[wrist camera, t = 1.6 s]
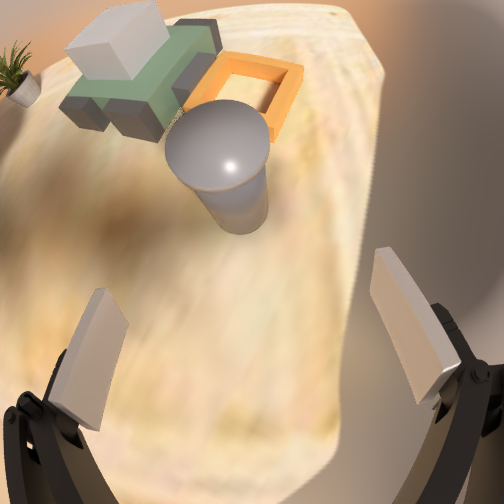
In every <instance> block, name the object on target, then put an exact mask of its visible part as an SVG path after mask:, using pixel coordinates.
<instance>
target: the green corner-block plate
mask: <svg viewBox="0 0 504 504" xmlns="http://www.w3.org/2000/svg"><path fill="white" fill-rule="evenodd" d="M222 48H223V47H222V43H221V38H220V34H219V30H218V25H217V21H216V19H179V20H178V21H177V22H176V23H175V24H174V25H173V26H166V25H165V22H164V20H163V17H162V15H161V12H160V10H159V8H158V5H157V3H156V0H150V1H143V2H137V3H131V4H125V5H121V6H116V7H111V8H107V9H105V10H104V11H103V12H102V13H101V14H100V15H99V16H97V17H96V18H95V19H94V20H93V21H92V22H91V23H90V24H89V25H88V26H87V27H86V28H85V29H84V30H83V31H82V32H80V34H79V35H77V37H76V38H75V39H74V40H73V41H72V42H71V43H70V44H69V45H68V46H67V47H66V48H65V49H64V50H65V52H66V53H67V54H68V56H69V57H70V58H71V60H72V61H73V62H74V63H75V65H76V66H77V67H78V68H79V70H80V71H81V72H82V73H83V75H82V76H81V77H80V78H79V80H78V81H77V82H76V84H75V85H74V86H73V88H72V89H71V90H70V92H69V93H68V94H67V96H66V97H65V98H64V100H63V101H62V103H61V104H60V106H59V107H58V108H59V109H60V110H61V111H62V112H63V113H64V114H65V115H67V116H68V117H69V118H70V119H71V120H72V121H73V122H74V123H75V124H76V125H77V126H78V127H79V128H84V129H90V130H96V131H101V132H104V131H105V129H106V127H107V126H108V124H109V123H110V121H111V123H112V124H113V125H114V126H115V127H116V128H117V129H118V131H119V132H120V133H121V134H122V135H123V136H127V137H132V138H137V139H141V140H146V141H150V142H155V143H158V142H159V140H160V138H161V136H162V135H163V133H164V131H165V130H166V128H167V127H168V125H169V123H170V122H171V120H172V118H173V117H174V115H175V114H176V112H177V111H178V109H179V108H180V107H183V109H184V111H185V113H186V112H187V111H189V110H190V109H192V108H194V107H196V106H198V105H200V104H203V103H206V102H210V101H214V99H215V98H216V96H217V95H218V93H219V92H220V90H221V88H222V87H223V85H224V84H225V82H226V81H227V79H228V78H229V76H230V75H231V74H232V73H233V74H238V75H244V76H249V77H254V78H259V79H264V80H268V81H273V82H277V83H281V85H280V87H279V89H278V91H277V92H276V94H275V96H274V98H273V100H272V102H271V104H270V106H269V108H268V110H267V112H266V114H264V113H260V112H259V113H260V114H261V115H262V117H263V118H264V119H265V121H266V123H267V126H268V129H269V136H270V142H273V143H275V140H276V138H277V136H278V134H279V132H280V129H281V127H282V125H283V123H284V120H285V118H286V116H287V114H288V112H289V110H290V107H291V105H292V103H293V101H294V99H295V96H296V94H297V92H298V90H299V88H300V86H301V84H302V81H303V71H304V66H303V65H299V64H295V63H291V62H286V61H282V60H277V59H272V58H267V57H262V56H257V55H251V54H244V53H238V52H230V51H222V53H221V54H220V55H219V56H218V58H217V59H216V56H217V55H218V53H219V52H220V51H221V50H222Z"/></svg>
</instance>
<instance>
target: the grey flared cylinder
mask: <svg viewBox="0 0 504 504" xmlns="http://www.w3.org/2000/svg"><path fill="white" fill-rule="evenodd" d="M269 151H270V136H269V129H268V126H267V123H266V121H265V119H264V118H263V117H262V115H261V114H260V113H259V112H258V111H257V110H255V109H254V108H253V107H251V106H249V105H247V104H245V103H242V102H239V101H234V100H215V101H210V102H206V103H203V104H200V105H198V106H196V107H194V108H192V109H190V110H189V111H187V112H186V113H185V114H183V115H182V116H181V117H180V118H179V119H178V120H177V121H176V123H175V124H174V125H173V127H172V128H171V130H170V132H169V134H168V136H167V139H166V144H165V156H166V161H167V163H168V165H169V167H170V169H171V170H172V172H173V173H174V174H175V176H176V177H177V178H178V179H179V180H180V181H181V182H182V183H183V184H184V185H185V186H187V187H189V188H191V189H193V190H194V191H195V192H196V194H197V195H198V196H199V198H200V199H201V201H202V202H203V203H204V205H205V206H206V208H207V209H208V210H209V212H210V213H211V214H212V216H213V217H214V219H215V220H216V221H217V223H218V224H219V225H220V227H221V228H223V229H224V230H225V231H227V232H229V233H232V234H237V235H242V234H248V233H251V232H253V231H255V230H256V229H258V228H259V227H260V226H261V225H262V224H263V222H264V221H265V219H266V217H267V214H268V196H267V183H266V170H265V163H266V161H267V158H268V156H269Z"/></svg>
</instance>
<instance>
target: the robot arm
mask: <svg viewBox="0 0 504 504" xmlns="http://www.w3.org/2000/svg"><path fill="white" fill-rule="evenodd" d="M369 293H370V295H371V297H372V299H373V301H374V303H375V305H376V307H377V309H378V311H379V314H380V316H381V318H382V320H383V322H384V324H385V327H386V329H387V331H388V333H389V335H390V337H391V340H392V342H393V345H394V347H395V349H396V352H397V354H398V356H399V358H400V361H401V363H402V366H403V368H404V371H405V373H406V376H407V378H408V381H409V383H410V386H411V389H412V391H413V394H414V397H415V399H416V402H417V405H418V404H421V403H423V402H426V401H428V400H430V399H433V398H434V397H435V396H436V394H437V393H438V392H439V394H440V396H441V398H440V399H439V400H438V402H437V403H436V404H435V405H434V407H433V408H432V409H433V410H435V408H436V407H437V409H436V412H435V414H434V417H433V420H432V423H431V425H430V428H429V431H428V433H427V435H426V438H425V440H424V443H423V445H422V448H421V450H420V452H419V454H418V456H417V459H416V461H415V463H414V465H413V467H412V469H411V471H410V473H409V475H408V477H407V478H406V480H405V482H404V484H403V486H402V488H401V490H400V491H399V493H398V495H397V496H396V498H395V500H394V502H393V503H392V504H455V502H456V500H457V498H458V496H459V493H460V491H461V489H462V486H463V484H464V482H465V479H466V477H467V474H468V472H469V469H470V466H471V472H470V477H469V482H468V487H467V491H466V496H465V500H464V504H504V364H500V365H488V364H487V363H486V362H484V361H483V360H478V359H476V357H475V356H474V354H473V353H472V351H471V349H470V347H469V345H468V343H467V342H466V340H465V338H464V336H463V335H462V333H461V331H460V330H459V329H458V326H457V325H456V323H455V322H454V321H453V318H452V317H451V315H450V313H449V312H448V310H447V309H445V308H444V307H443V306H442V305H441V304H439V303H436V304H433V305H429V304H428V302H427V300H426V299H425V297H424V296H423V294H422V293H421V291H420V289H419V288H418V286H417V285H416V283H415V282H414V280H413V279H412V277H411V276H410V274H409V273H408V272H407V270H406V269H405V267H404V266H403V264H402V263H401V261H400V260H399V259H398V257H397V256H396V254H395V253H394V252H393V250H392V249H391V248H390V247H384V248H378V249H376V250H375V258H374V266H373V273H372V279H371V286H370V292H369ZM128 326H129V323H128V322H127V320H126V319H125V317H124V315H123V314H122V312H121V311H120V309H119V307H118V306H117V304H116V302H115V301H114V299H113V297H112V296H111V294H110V292H109V290H108V289H107V288H101V289H96V290H95V292H94V293H93V295H92V297H91V299H90V301H89V303H88V305H87V307H86V309H85V311H84V313H83V315H82V318H81V320H80V322H79V324H78V326H77V328H76V330H75V333H74V335H73V337H72V339H71V342H70V344H69V346H68V349H65V350H64V351H63V352H62V354H61V355H60V356H59V358H58V361H57V363H56V365H55V366H56V368H54V370H53V375H52V376H51V378H50V381H49V384H48V386H47V389H46V392H45V395H44V398H43V400H42V401H41V400H40V399H39V398H37V397H36V396H35V395H34V394H33V393H31V392H30V391H26V392H24V393H22V394H21V395H20V397H19V398H18V400H17V404H16V407H15V406H11V407H9V408H8V409H7V410H6V412H5V414H4V419H3V437H4V438H3V440H4V459H5V471H6V479H7V487H8V493H9V498H10V504H119V503H118V501H117V500H116V498H115V497H114V495H113V493H112V492H111V490H110V488H109V486H108V485H107V483H106V481H105V479H104V478H103V476H102V474H101V472H100V470H99V468H98V466H97V464H96V462H95V460H94V458H93V456H92V454H91V452H90V450H89V448H88V445H87V443H86V441H85V439H84V436H83V434H82V432H81V430H80V429H79V428H78V426H79V424H80V425H82V426H83V427H85V428H86V429H89V430H94V431H99V430H100V425H101V421H102V417H103V412H104V408H105V404H106V400H107V396H108V392H109V389H110V385H111V381H112V378H113V374H114V371H115V367H116V364H117V360H118V357H119V354H120V351H121V347H122V344H123V341H124V338H125V335H126V332H127V329H128ZM27 442H29V443H30V444H32V445H33V447H32V449H30V448H28V447H27ZM471 464H472V465H471Z"/></svg>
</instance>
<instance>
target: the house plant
mask: <svg viewBox="0 0 504 504" xmlns="http://www.w3.org/2000/svg"><path fill="white" fill-rule="evenodd" d="M15 43H16V42H15ZM29 44H30V43H29ZM29 44H28V45H29ZM28 45H27V46H28ZM27 46H26V47H27ZM14 47H15V44H14V46H13V48H12V53H11V64H10V67H9V68H10V70H9V68H8V67H7V64H6V58H5V49H4V54H3V58H1V57H0V72H1V73H2V74H4V75H5V76H6V77H7V78H6V77H5V76H3V75H1V74H0V79H1V80H3V81H6V82H3V81H0V87H1V86H6V87H4V88H3V89H4V90H5V89H9V90H8V92H7V94H6V97H7V98H9V99H11V100H13V101H15V102H16V103H18V104H20V105H22V106H24V107H29V106H30V105H32V104H33V103H34V102H35V100H36V99H37V98H38V96H39V95H40V93H41V88H40V87H39V85H38V84H37V82H36V81H35V79H34V77H33V76H32V74H31V73H30V71H29V70H27V71H25V72H23V73H22V70H21V67H22V66H23V64H24V63H25V62H26V61H27V59H28V58H29V57H31V56H29V57H27V58H26V59H24V58H25V57H26V56H27V55H28V53H27V55H25V56H24V57H23V58H22V60H23V59H24V61H23V63H22V65H21V66H20V64H21V62H22V60H21V61H20V64H19V68H20V69H19V68H18V62H19V58H20V57H21V55H22V53H23V52H24V50H25V48H26V47H25V48H24V49H23V50H22V51H21V52H20V54H19V55H18V56H17V58H16V60H15V61H14V65H13V56H14V52H15V51H14ZM16 52H17V51H16ZM29 54H30V53H29ZM11 68H12V69H11ZM18 69H19V70H18ZM1 90H2V89H1ZM1 90H0V91H1ZM2 92H3V91H2ZM2 92H1V93H2ZM1 93H0V95H1Z"/></svg>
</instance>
